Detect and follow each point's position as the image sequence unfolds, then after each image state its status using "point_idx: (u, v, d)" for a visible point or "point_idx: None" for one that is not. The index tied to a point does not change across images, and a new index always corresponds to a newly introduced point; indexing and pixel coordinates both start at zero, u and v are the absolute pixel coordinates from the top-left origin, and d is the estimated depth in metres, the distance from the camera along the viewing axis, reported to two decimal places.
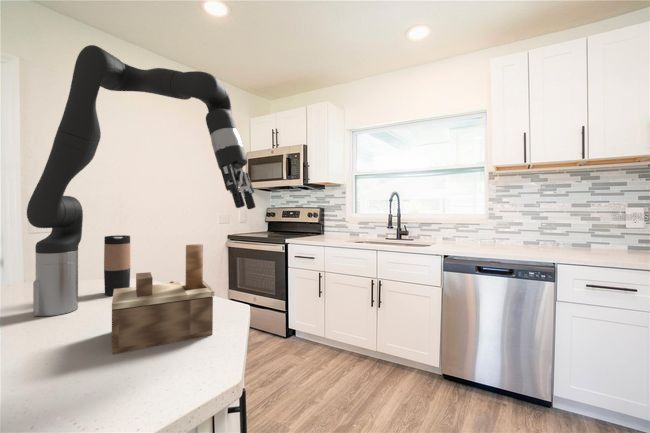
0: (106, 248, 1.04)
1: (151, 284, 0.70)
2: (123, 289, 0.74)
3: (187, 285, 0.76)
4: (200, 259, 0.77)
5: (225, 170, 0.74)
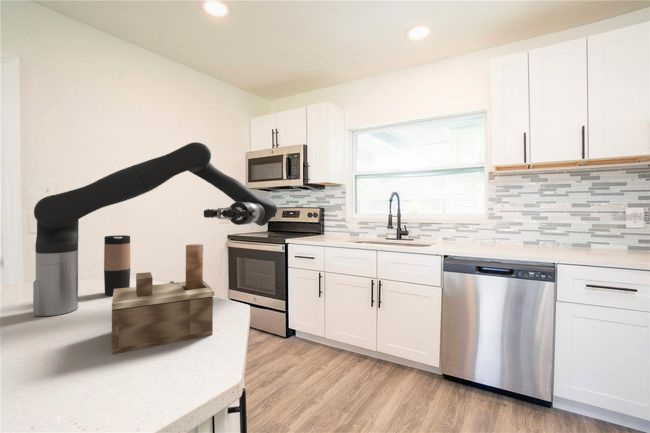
0: (106, 248, 1.04)
1: (151, 284, 0.70)
2: (123, 289, 0.74)
3: (187, 285, 0.76)
4: (200, 259, 0.77)
5: (254, 213, 0.96)
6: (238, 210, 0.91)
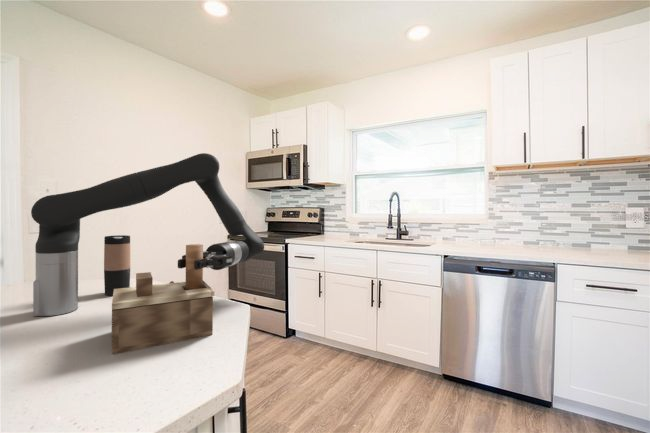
0: (106, 248, 1.04)
1: (151, 284, 0.70)
2: (123, 289, 0.74)
3: (187, 285, 0.76)
4: None
5: (229, 260, 0.83)
6: (204, 259, 0.78)
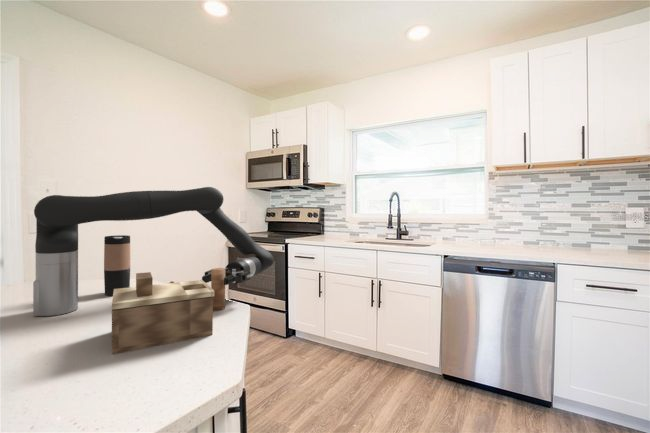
0: (106, 248, 1.04)
1: (151, 284, 0.70)
2: (123, 289, 0.74)
3: (213, 303, 0.92)
4: (223, 281, 0.93)
5: (249, 275, 0.98)
6: (231, 275, 0.93)
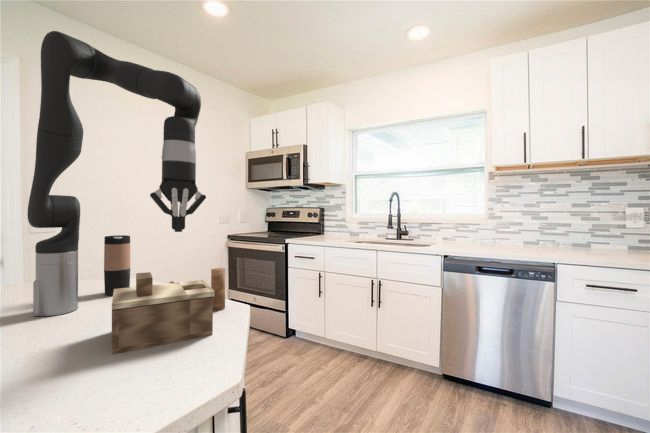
0: (106, 248, 1.04)
1: (151, 284, 0.70)
2: (123, 289, 0.74)
3: (213, 303, 0.92)
4: (223, 281, 0.93)
5: (202, 200, 0.79)
6: (182, 218, 0.76)
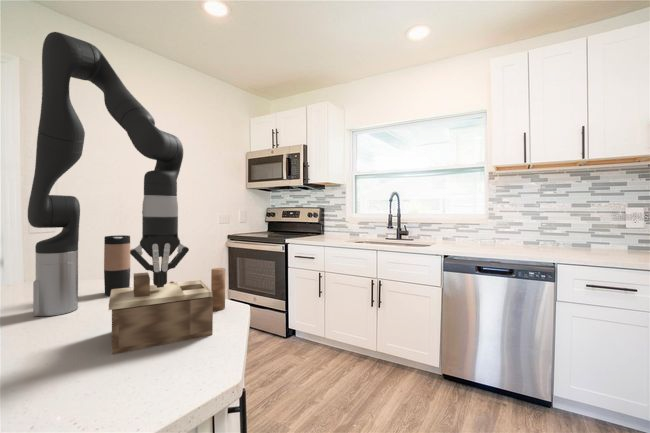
0: (106, 248, 1.04)
1: (148, 284, 0.70)
2: (120, 289, 0.74)
3: (213, 303, 0.92)
4: (223, 281, 0.93)
5: None
6: (163, 273, 0.74)
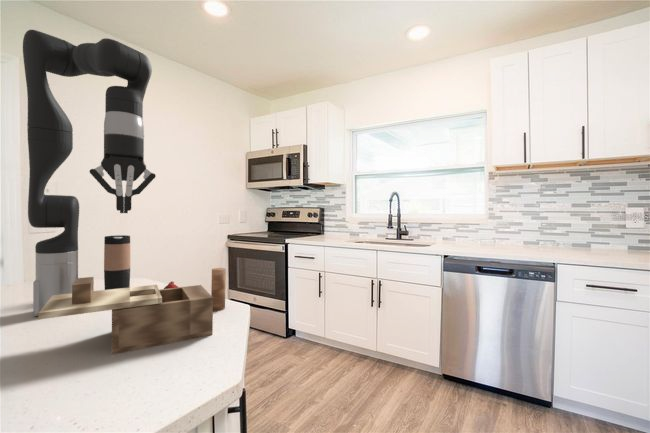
0: (106, 248, 1.04)
1: (89, 290, 0.64)
2: (62, 295, 0.68)
3: (213, 303, 0.92)
4: (224, 281, 0.93)
5: (152, 179, 0.72)
6: (127, 198, 0.69)
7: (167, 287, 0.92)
